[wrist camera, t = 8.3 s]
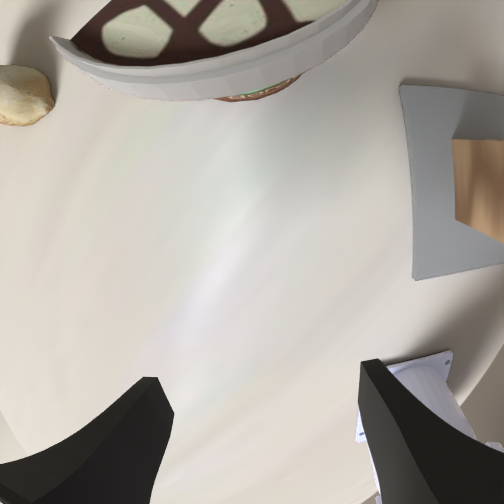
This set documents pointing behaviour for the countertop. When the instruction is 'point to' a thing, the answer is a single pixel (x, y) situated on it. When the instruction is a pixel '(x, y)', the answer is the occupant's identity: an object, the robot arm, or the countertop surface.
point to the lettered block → (480, 185)
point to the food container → (211, 45)
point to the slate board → (446, 176)
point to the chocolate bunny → (23, 95)
